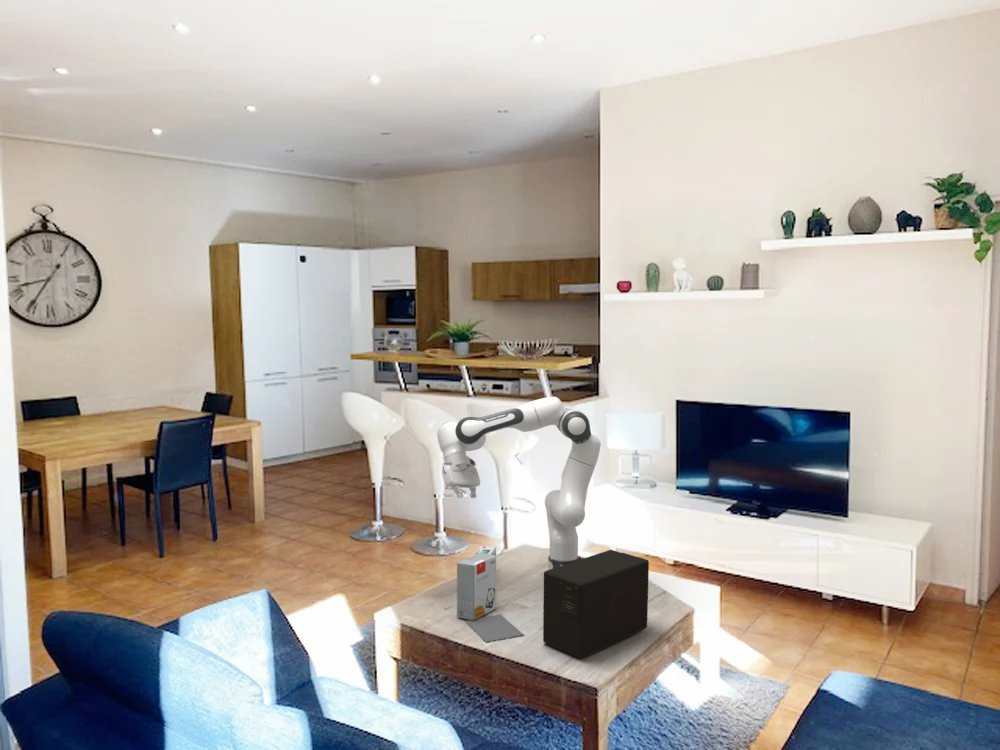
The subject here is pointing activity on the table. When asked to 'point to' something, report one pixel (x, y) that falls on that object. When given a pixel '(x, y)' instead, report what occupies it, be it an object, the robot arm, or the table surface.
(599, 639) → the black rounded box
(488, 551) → the light bulb box
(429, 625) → the table surface
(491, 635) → the mat
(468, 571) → the hard drive box
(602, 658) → the table surface
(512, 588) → the table surface
